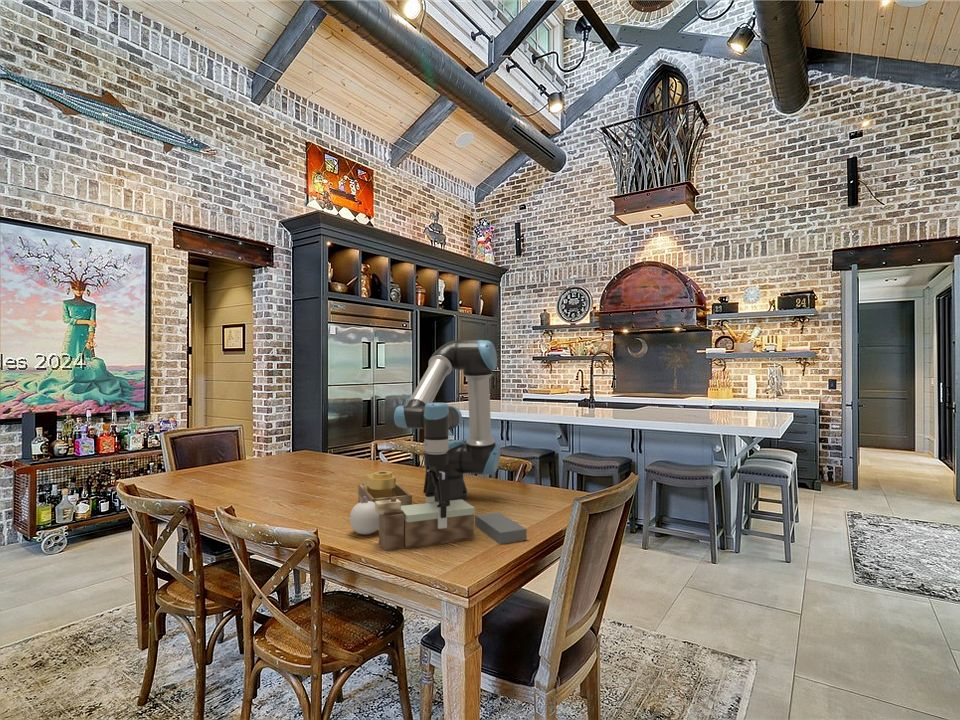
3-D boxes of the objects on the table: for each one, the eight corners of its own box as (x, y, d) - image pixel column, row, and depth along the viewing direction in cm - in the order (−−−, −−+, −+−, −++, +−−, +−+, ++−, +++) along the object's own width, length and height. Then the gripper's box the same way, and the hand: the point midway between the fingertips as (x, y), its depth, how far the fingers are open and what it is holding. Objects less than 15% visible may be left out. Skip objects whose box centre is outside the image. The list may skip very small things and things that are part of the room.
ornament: (352, 540, 158) (352, 501, 158) (347, 530, 167) (347, 494, 168) (385, 536, 162) (385, 498, 162) (378, 527, 171) (378, 491, 172)
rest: (498, 522, 177) (498, 512, 177) (526, 540, 158) (526, 529, 158) (474, 525, 173) (474, 515, 173) (500, 544, 155) (500, 532, 155)
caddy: (394, 503, 200) (394, 480, 200) (411, 521, 177) (411, 495, 178) (358, 507, 195) (358, 483, 195) (371, 526, 172) (371, 499, 172)
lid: (461, 505, 169) (461, 499, 169) (474, 514, 159) (474, 507, 159) (397, 512, 160) (397, 506, 160) (406, 522, 150) (407, 515, 150)
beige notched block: (397, 508, 157) (397, 495, 157) (401, 512, 153) (401, 498, 153) (374, 511, 154) (375, 497, 154) (377, 514, 150) (377, 501, 150)
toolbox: (463, 530, 168) (463, 497, 168) (474, 539, 160) (474, 504, 160) (378, 541, 157) (378, 506, 157) (385, 551, 149) (385, 514, 149)
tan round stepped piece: (398, 519, 180) (398, 474, 180) (372, 523, 176) (372, 476, 176) (385, 505, 198) (385, 464, 198) (361, 508, 194) (361, 466, 195)
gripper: (414, 447, 169) (413, 513, 169) (436, 459, 147) (436, 535, 147) (435, 446, 172) (435, 511, 172) (461, 457, 150) (460, 532, 150)
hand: (436, 522), depth 159 cm, fingers open, 11 cm apart
